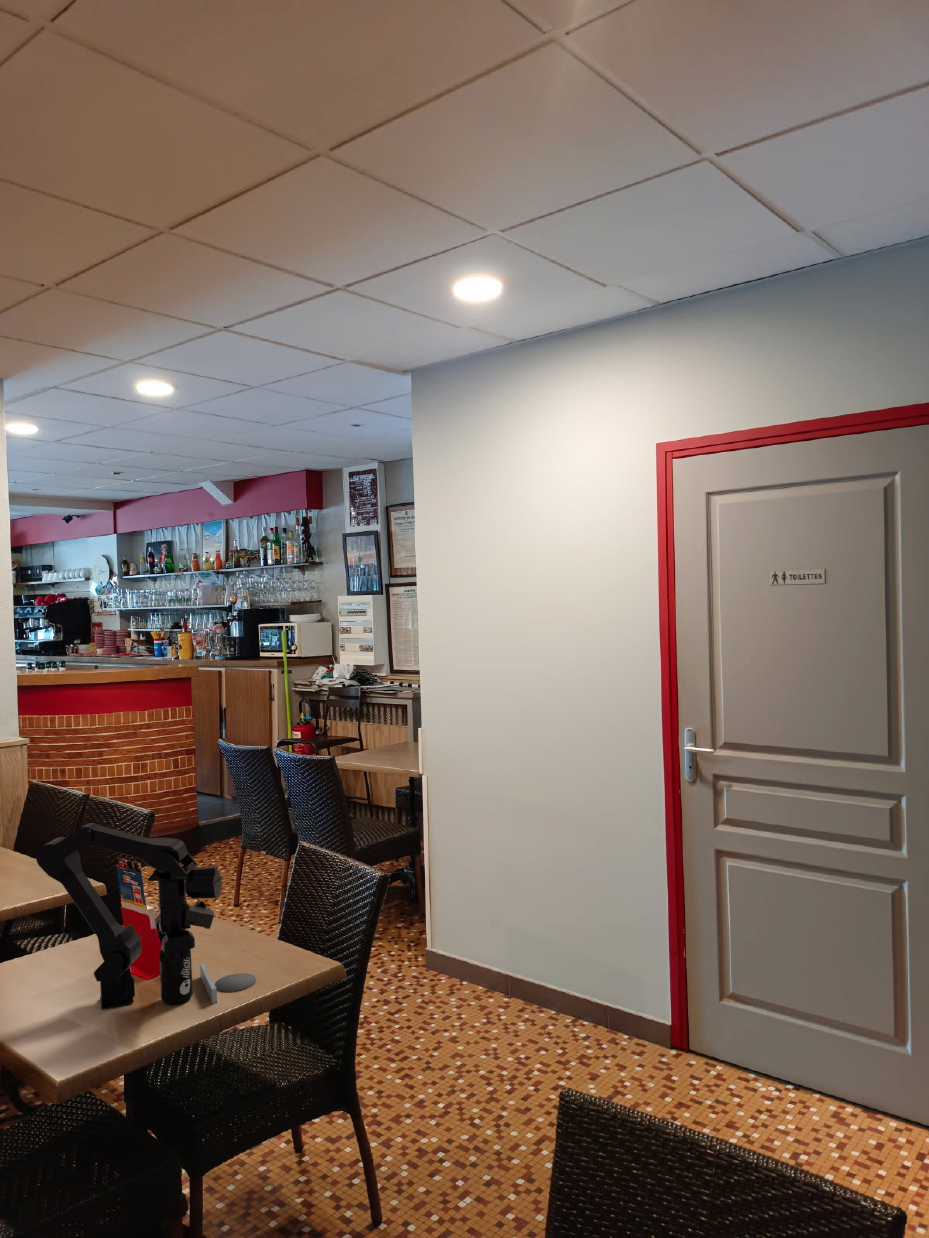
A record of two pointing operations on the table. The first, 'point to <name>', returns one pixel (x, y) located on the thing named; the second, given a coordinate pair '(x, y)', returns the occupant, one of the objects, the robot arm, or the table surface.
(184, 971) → the beverage can
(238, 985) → the coaster mat
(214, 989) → the low wall
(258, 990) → the table surface
